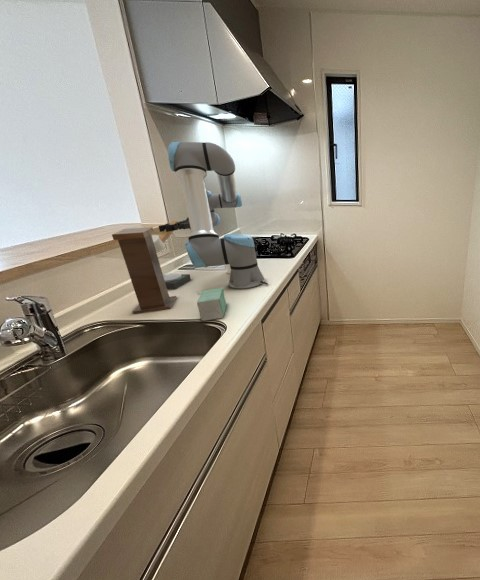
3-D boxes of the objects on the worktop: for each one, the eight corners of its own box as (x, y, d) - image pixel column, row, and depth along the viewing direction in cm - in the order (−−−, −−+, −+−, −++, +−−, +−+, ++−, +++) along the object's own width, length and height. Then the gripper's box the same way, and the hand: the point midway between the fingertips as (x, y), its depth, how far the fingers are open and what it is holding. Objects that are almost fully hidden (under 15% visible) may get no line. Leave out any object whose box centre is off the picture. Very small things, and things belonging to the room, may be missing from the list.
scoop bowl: (159, 253, 137) (152, 245, 133) (145, 253, 137) (137, 245, 134) (183, 224, 150) (177, 215, 147) (170, 224, 151) (164, 215, 147)
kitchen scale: (191, 279, 154) (189, 272, 153) (175, 289, 142) (173, 281, 141) (164, 280, 154) (162, 273, 152) (146, 289, 142) (143, 282, 140)
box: (226, 304, 125) (222, 286, 122) (224, 317, 113) (219, 299, 111) (206, 307, 123) (201, 289, 120) (201, 321, 111) (196, 302, 108)
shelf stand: (143, 302, 128) (119, 229, 117) (176, 297, 132) (157, 226, 121) (133, 314, 117) (106, 234, 107) (170, 308, 122) (147, 232, 111)
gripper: (212, 229, 165) (180, 237, 143) (185, 229, 167) (149, 236, 145) (209, 215, 163) (176, 220, 141) (181, 215, 164) (145, 220, 142)
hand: (163, 228), depth 143 cm, fingers closed on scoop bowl, 2 cm apart
